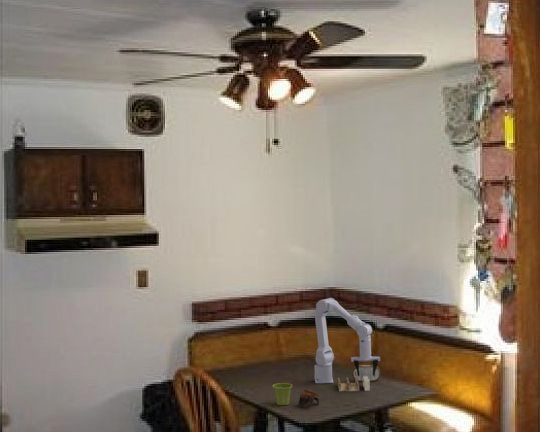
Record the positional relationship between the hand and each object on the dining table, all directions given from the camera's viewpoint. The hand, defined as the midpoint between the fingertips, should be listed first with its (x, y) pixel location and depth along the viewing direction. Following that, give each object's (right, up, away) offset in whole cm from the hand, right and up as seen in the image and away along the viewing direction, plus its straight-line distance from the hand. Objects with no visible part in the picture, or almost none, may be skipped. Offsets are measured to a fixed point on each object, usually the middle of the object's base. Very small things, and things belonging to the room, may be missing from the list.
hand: (366, 375), depth 330 cm
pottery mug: (-31, -8, -27) cm, 41 cm away
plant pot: (-43, -8, -22) cm, 49 cm away
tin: (+2, -7, +14) cm, 16 cm away
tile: (0, -7, 0) cm, 7 cm away
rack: (-9, -7, +1) cm, 11 cm away
